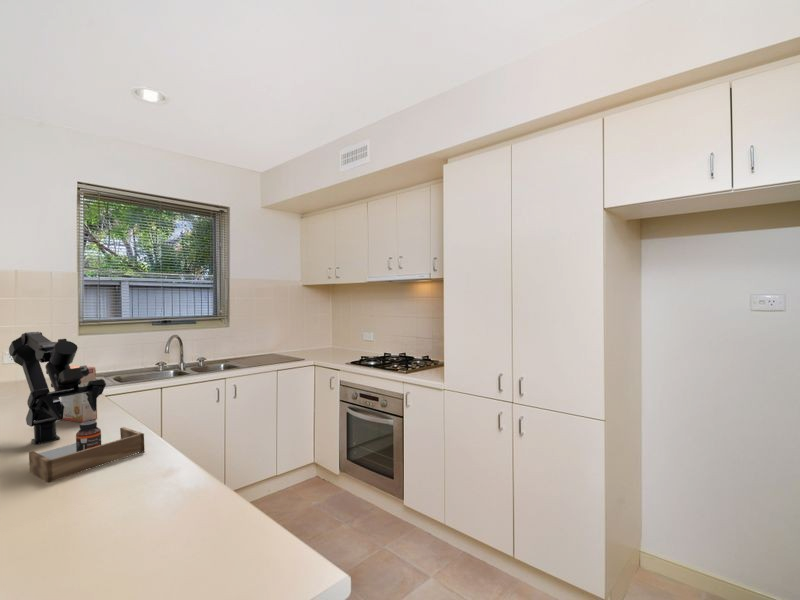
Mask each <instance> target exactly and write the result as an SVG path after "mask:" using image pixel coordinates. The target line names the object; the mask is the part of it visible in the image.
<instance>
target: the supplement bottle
mask: <svg viewBox="0 0 800 600" xmlns="http://www.w3.org/2000/svg"><path fill="white" fill-rule="evenodd" d="M75 443H76V452H78V451H82V450H85V449H89V448H92V447H96V446H99V445H102V430H101V428H100V427H98V422H97V420H91V421H87V422H83V423H81V422H80V424H79V430H78V431H77V432H76V434H75Z"/></svg>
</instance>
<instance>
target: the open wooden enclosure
mask: <svg viewBox="0 0 800 600" xmlns="http://www.w3.org/2000/svg"><path fill="white" fill-rule="evenodd" d="M119 430H120V431H119V433H120V439H117V440H114V441H110V442H107V443H104V444H101V445H99V446H96V447H92V448H89V449H85V450H82V451H78V452H75V453H71V454H68V455H64V456H61V457H57V458H54V459H48V458H46V457H44V456H42V455H40V454H38V453H39V452H36V451H34V450H33V451H30V452H28V462H29V464H28V465H29V473H31V474H32V475H34V476H36V477H38V478H39V479H41V480H43V481H44V482H46V483H51V482H54V481H57V480H60V479H63V478H65V477H69V476H73V475H75V473H76V474H78V472H79V473H82V472H85V471H87V470H86V469H88V470H90V469H89V468H91V469H94V468H96V466H97V467H100V466H102V464H103V465H106V464H109V463H111V461H113V462H115V461H114V460H116V461H118V460H117V459H119V460H122V459H124V457H125V458H128V457H131V456H133V454H134V455H136V454H135V453H137V454H139V453H138V452H140V453H142V452H141V451H143V452H145V451H144V450H145V433H143V432H141V431H137V430H134V429H130V428H127V427H125V426H122V427H120V428H119ZM130 455H131V456H130ZM127 456H128V457H127ZM121 458H122V459H121ZM108 462H109V463H108ZM105 463H106V464H105ZM99 465H100V466H99ZM93 467H94V468H93ZM84 470H85V471H84ZM81 471H82V472H81Z"/></svg>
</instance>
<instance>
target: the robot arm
mask: <svg viewBox="0 0 800 600" xmlns="http://www.w3.org/2000/svg"><path fill="white" fill-rule="evenodd" d="M78 349H79V347H78V345H77V344H75V343H74V342H73V341H69V340H67V338H59V339H58V340H57V341H51V339H49V338H47V337H46V336H45V335H44V334H43V332H40V331H30V332H24V333H22V334H21V335H20V336H19V337H17V338H16V339H14V340H12V341H11V343H10V345H9V346H8V354H9V356H10V357H11V359H12V360H13V362H14V363H16V364H17V365H19V366H21V368H22V369H23V373H24V377H25V379H26V381H27V385H28V388H29V390H30V393H29V395H28V398H27V407H28V412H27V414H26V417H25V423H26V425H27V426H29V427H31V428H32V427H33V434H34V435H33V437H34V438H32V439H31V442H32V444H33V445H40V444H44V443H48V442H53V441H57V440H60V439H61V437H60V436H58V435H57V421H62V420H64V419H63V413H64V406H63V404H62V402H61V397H66V396H71V395H76V394H82V393H86V395H87V396H88V398H87V400H88V402H89V404H90V406H91V408H92V410H93V411H94V412H95V411H96V405H97V406H98V401H97V400H98V397H99V396H101V395H102V394H103V393H104V390H105V388H106V386H107V383H106V381H105V379H103V378H98V379H96V380H92V381H89V383H88V385H87V386H83V387H79V386H78V385H79V384H81V380H80V379H81V378H83V377H85V376H87V375H88V374H89V369H88V367H89V366H87V365H79V366H80V367H79V368H73V369H71V368H70V366H71V365H70V364H72V363H73V362H74V359H75V356H76V354H77V351H78ZM44 363H46V364H45V370H46V371H45V373H46V375H48V377H49V381H50V386H51V388H53V391H50V389H49V385H48V383H47V380H46V377H45V375H44V370H43V369H42V368H43V367H42V365H41V364H44Z"/></svg>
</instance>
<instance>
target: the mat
mask: <svg viewBox="0 0 800 600" xmlns="http://www.w3.org/2000/svg"><path fill="white" fill-rule="evenodd" d="M75 452H76V442H75V443H71V444H66V445H63V446H59V447H56V448H53V449H49V450H45V451H41V452H37V453H38V454H40V455H42V456H44V457H46V458H48V459H54V458H57V457H61V456H64V455H68V454H71V453H75Z"/></svg>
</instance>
